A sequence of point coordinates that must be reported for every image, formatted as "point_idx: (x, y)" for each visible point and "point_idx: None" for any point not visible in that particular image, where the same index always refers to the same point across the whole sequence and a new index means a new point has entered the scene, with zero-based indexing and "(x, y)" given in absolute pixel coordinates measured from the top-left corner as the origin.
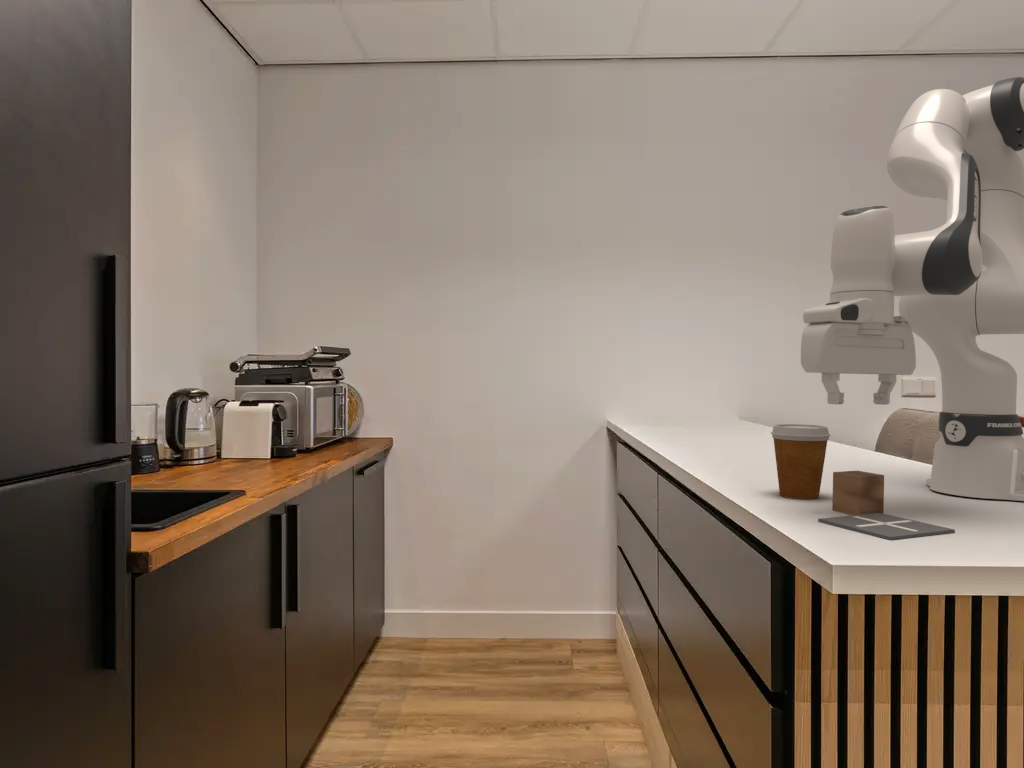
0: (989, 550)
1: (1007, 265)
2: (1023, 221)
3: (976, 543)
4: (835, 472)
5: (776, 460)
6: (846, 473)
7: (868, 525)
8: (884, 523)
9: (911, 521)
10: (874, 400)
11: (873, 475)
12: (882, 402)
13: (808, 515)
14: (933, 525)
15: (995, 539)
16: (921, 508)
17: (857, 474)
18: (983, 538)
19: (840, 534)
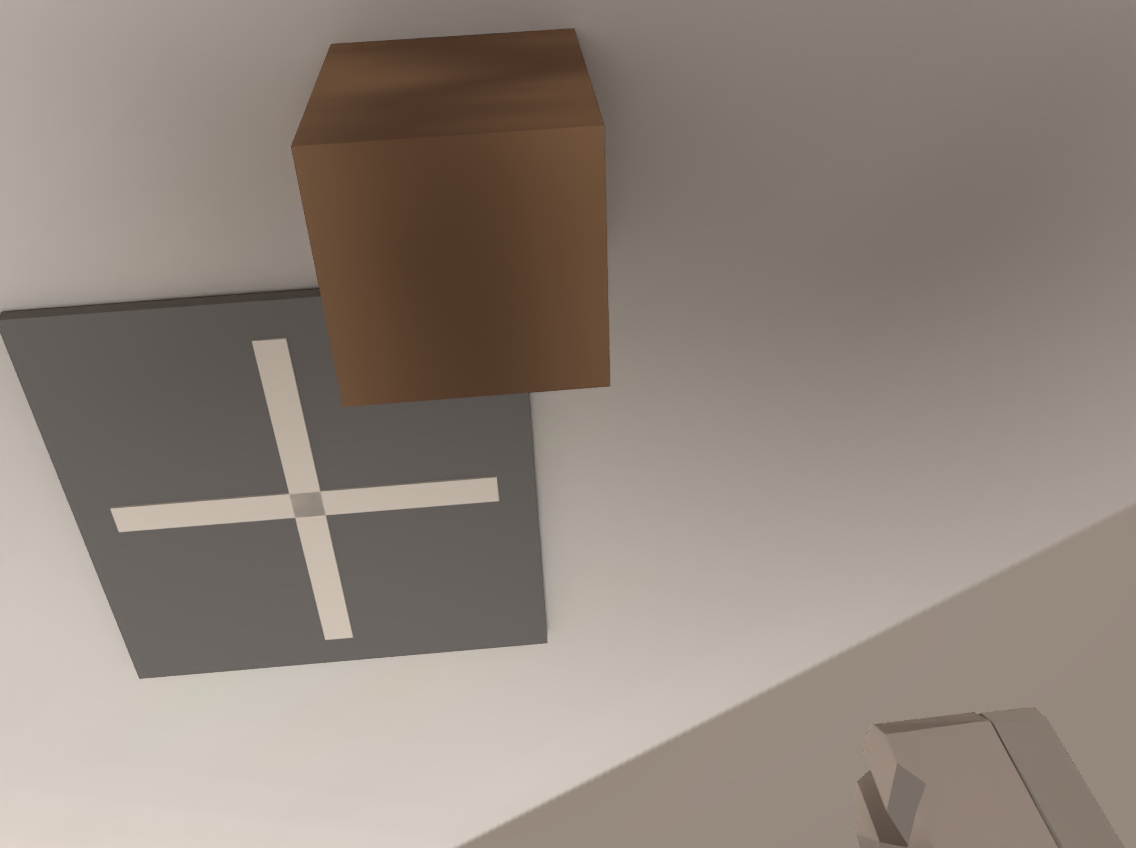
0: (413, 811)
1: None
2: None
3: (461, 750)
4: (299, 170)
5: None
6: (360, 246)
7: (184, 520)
8: (307, 505)
9: (490, 501)
10: (888, 772)
11: (503, 385)
12: (864, 845)
13: (37, 142)
14: (528, 573)
15: (596, 726)
16: (997, 171)
17: (413, 315)
18: (567, 709)
19: None
